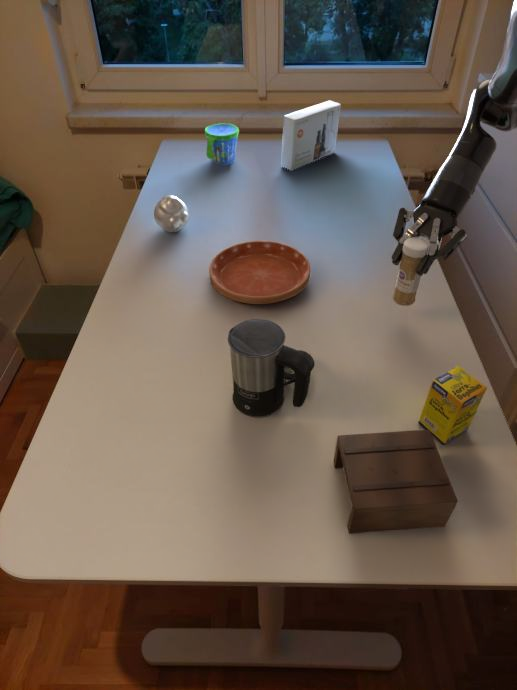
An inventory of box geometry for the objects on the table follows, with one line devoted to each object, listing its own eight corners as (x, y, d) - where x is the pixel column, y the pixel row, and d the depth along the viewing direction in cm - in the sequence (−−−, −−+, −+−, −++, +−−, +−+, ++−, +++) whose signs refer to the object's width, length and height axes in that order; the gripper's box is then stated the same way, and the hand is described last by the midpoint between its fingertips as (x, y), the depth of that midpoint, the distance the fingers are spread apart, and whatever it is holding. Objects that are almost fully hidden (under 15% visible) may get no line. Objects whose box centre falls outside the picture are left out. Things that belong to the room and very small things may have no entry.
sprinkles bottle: (387, 299, 102) (399, 242, 93) (401, 290, 105) (413, 233, 95) (406, 309, 100) (420, 252, 91) (419, 300, 102) (434, 242, 93)
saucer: (189, 280, 116) (188, 267, 113) (259, 242, 128) (259, 229, 125) (260, 325, 104) (260, 311, 101) (329, 279, 116) (331, 265, 113)
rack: (419, 456, 80) (429, 428, 75) (445, 526, 72) (458, 500, 67) (333, 461, 80) (337, 434, 75) (348, 534, 71) (354, 508, 66)
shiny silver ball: (154, 240, 129) (148, 204, 122) (158, 221, 136) (153, 186, 129) (189, 239, 129) (185, 203, 122) (192, 220, 136) (188, 185, 129)
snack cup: (221, 173, 157) (219, 140, 150) (195, 165, 162) (192, 133, 155) (250, 156, 167) (249, 124, 160) (225, 149, 171) (223, 118, 164)
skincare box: (292, 172, 157) (294, 119, 147) (280, 166, 160) (281, 115, 150) (336, 153, 168) (341, 103, 157) (324, 148, 171) (328, 99, 160)
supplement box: (444, 447, 82) (462, 404, 74) (416, 423, 85) (431, 379, 78) (468, 431, 84) (488, 387, 76) (441, 408, 88) (457, 364, 80)
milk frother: (227, 415, 87) (222, 353, 77) (241, 352, 98) (239, 291, 88) (309, 423, 85) (315, 362, 75) (314, 359, 97) (320, 298, 87)
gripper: (413, 167, 94) (368, 249, 96) (487, 190, 87) (437, 278, 89) (422, 184, 100) (380, 261, 102) (491, 207, 93) (444, 289, 95)
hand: (406, 268), depth 95 cm, fingers closed on sprinkles bottle, 4 cm apart
